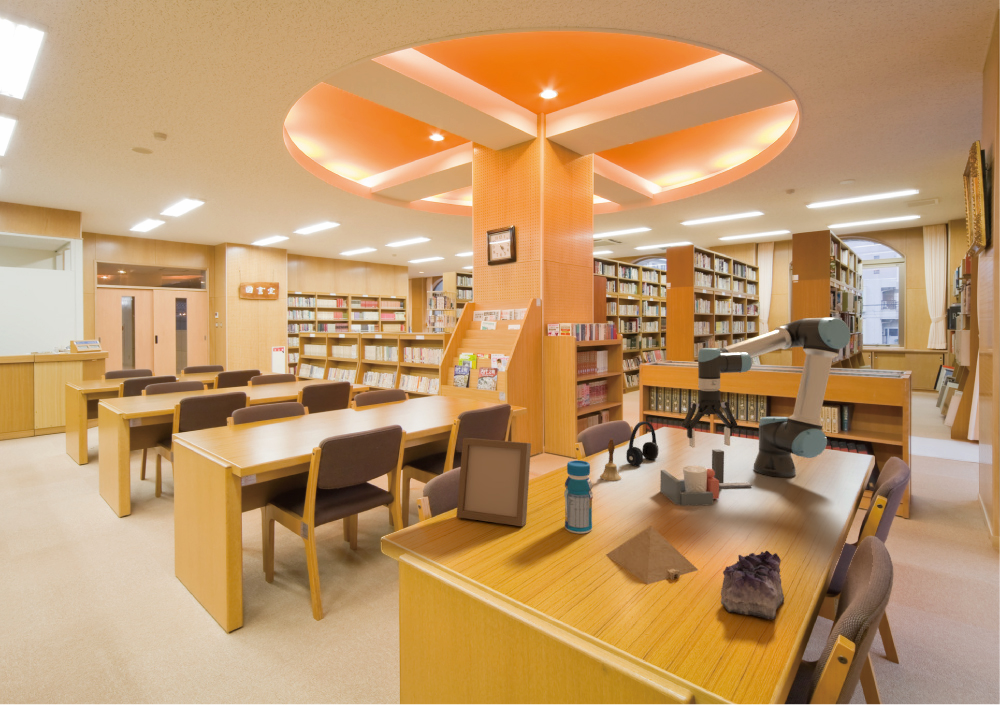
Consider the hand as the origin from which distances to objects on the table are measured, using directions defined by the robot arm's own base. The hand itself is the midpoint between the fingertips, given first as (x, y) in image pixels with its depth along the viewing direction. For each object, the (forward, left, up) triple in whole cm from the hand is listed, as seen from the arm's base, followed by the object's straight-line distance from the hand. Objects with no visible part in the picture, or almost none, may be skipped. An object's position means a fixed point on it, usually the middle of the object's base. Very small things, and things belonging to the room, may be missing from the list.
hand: (709, 445), depth 178 cm
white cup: (+10, +10, -16) cm, 21 cm away
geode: (+27, +72, -16) cm, 79 cm away
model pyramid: (+43, +55, -17) cm, 72 cm away
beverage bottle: (+57, +33, -16) cm, 68 cm away
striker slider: (+2, +6, -15) cm, 16 cm away
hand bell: (+33, -14, -16) cm, 40 cm away
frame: (+13, +10, -16) cm, 23 cm away
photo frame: (+81, +21, -16) cm, 86 cm away
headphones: (+12, -35, -16) cm, 41 cm away
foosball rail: (-1, 0, -16) cm, 16 cm away
